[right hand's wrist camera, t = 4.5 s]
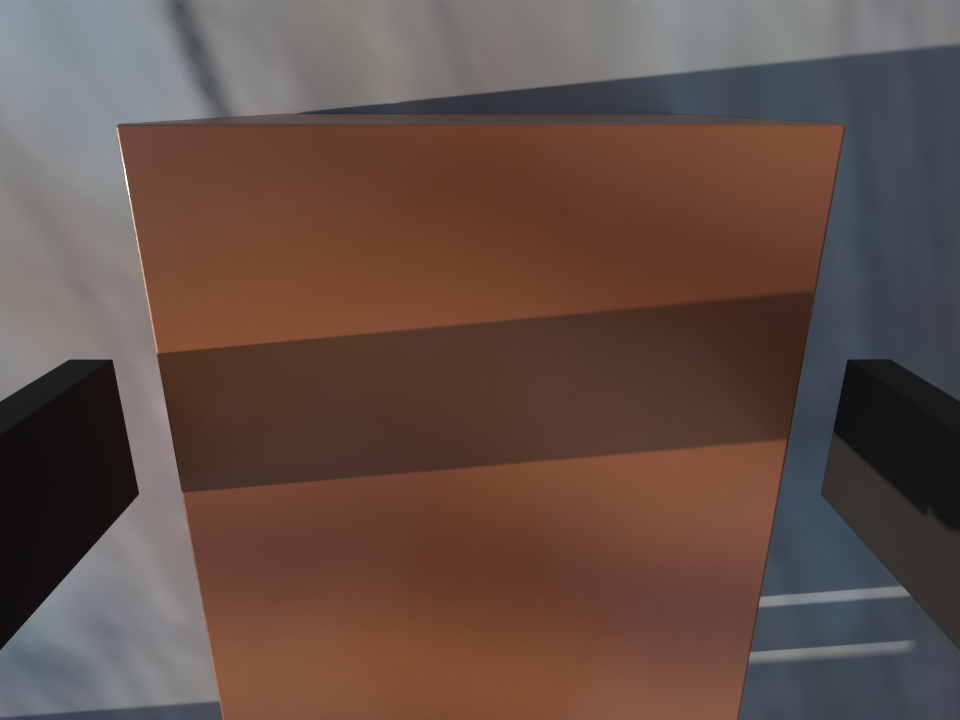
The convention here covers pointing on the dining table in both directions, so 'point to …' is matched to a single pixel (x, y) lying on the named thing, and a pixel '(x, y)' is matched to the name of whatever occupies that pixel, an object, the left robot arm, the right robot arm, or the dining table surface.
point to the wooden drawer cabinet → (480, 400)
